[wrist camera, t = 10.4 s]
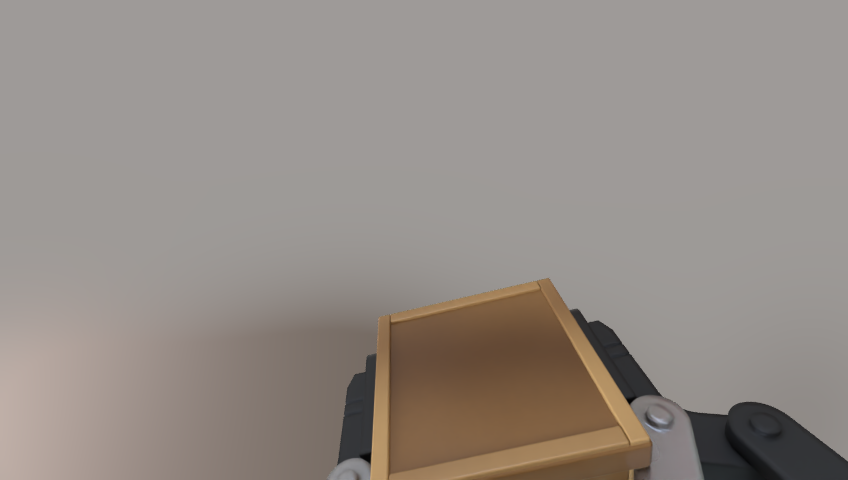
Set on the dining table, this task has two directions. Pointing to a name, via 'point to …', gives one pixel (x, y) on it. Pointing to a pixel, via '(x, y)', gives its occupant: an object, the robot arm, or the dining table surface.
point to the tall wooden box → (498, 394)
